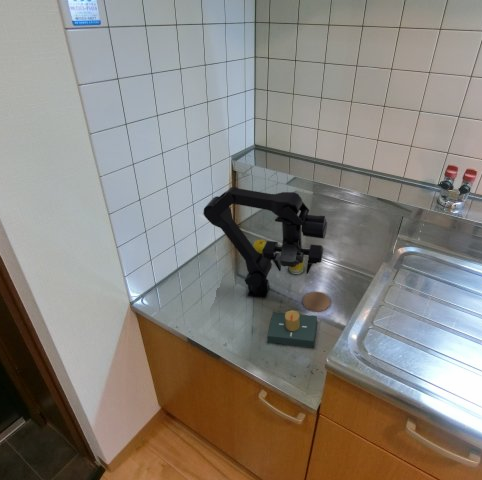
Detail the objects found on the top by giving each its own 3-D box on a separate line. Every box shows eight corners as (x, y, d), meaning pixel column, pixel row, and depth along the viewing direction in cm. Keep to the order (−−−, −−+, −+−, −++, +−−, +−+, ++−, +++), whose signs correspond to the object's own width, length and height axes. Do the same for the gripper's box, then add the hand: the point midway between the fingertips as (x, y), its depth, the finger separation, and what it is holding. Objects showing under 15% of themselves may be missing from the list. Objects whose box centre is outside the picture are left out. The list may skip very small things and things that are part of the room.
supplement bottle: (302, 274, 139) (302, 254, 133) (288, 274, 140) (287, 253, 134) (304, 265, 143) (303, 245, 137) (290, 264, 144) (289, 244, 138)
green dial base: (268, 342, 115) (267, 335, 113) (274, 318, 123) (273, 311, 121) (313, 347, 112) (313, 340, 110) (316, 322, 120) (316, 315, 118)
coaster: (301, 310, 124) (301, 309, 124) (304, 291, 131) (304, 290, 131) (328, 313, 122) (328, 312, 122) (330, 294, 129) (330, 292, 129)
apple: (265, 262, 147) (263, 246, 142) (251, 258, 150) (249, 242, 145) (272, 253, 151) (271, 237, 146) (258, 249, 154) (257, 234, 149)
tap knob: (286, 319, 118) (286, 308, 115) (300, 320, 117) (300, 310, 114) (284, 330, 114) (283, 319, 112) (298, 331, 113) (298, 321, 110)
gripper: (255, 246, 110) (260, 284, 119) (319, 251, 105) (318, 291, 114) (264, 225, 118) (268, 262, 127) (323, 229, 114) (323, 268, 123)
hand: (293, 271), depth 123 cm, fingers open, 9 cm apart
